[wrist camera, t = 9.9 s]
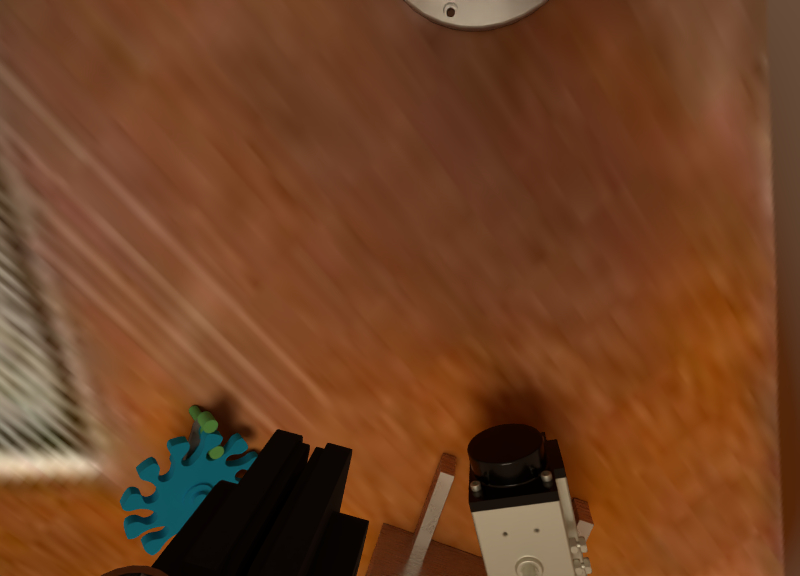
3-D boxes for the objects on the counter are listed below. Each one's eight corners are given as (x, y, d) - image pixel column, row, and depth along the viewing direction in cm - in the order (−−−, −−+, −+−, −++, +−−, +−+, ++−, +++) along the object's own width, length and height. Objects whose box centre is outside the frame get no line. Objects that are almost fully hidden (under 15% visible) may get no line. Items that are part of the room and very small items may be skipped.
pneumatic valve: (501, 532, 42) (509, 677, 30) (467, 391, 40) (461, 491, 28) (575, 523, 41) (613, 670, 29) (545, 378, 39) (573, 476, 27)
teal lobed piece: (245, 550, 44) (108, 574, 37) (219, 505, 48) (91, 520, 42) (285, 423, 42) (149, 425, 36) (253, 388, 47) (127, 385, 40)
